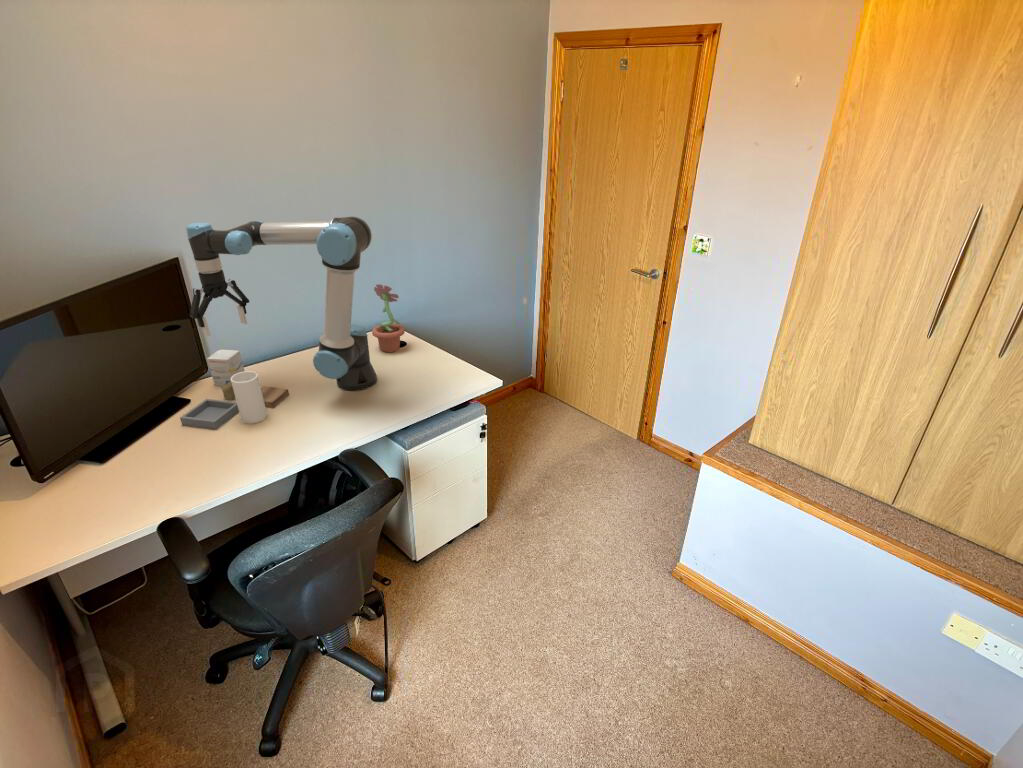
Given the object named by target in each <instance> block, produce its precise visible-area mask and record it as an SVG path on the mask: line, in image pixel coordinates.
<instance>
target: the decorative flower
mask: <svg viewBox="0 0 1023 768" xmlns="http://www.w3.org/2000/svg"><path fill="white" fill-rule="evenodd" d="M392 289H393V288H392V287H391V286H388V285H383V284H382V283H379V284H376V285H375V286H374V288H373V290H374V292H375V294H376V296H378V297H379V299H381V300H382V301H384V307H383V308H382V313H385V312H386V314H387V316H388V318H389V320H388V321H385V322H381V323H377V322H376V324H378V325H376V326H374V327H373V328H372V331H371V334H372V336H373V337H375V338H376V339H377V340H378V342H377V343H378V347H379V349H380V351H382V352H385V353H393V352H396V351H398V350H399V349H400V346H401V337H403V336H404V334H405V328H404V326H402V325H401V323H400V322H399V321H398V320H397V319H395V318H394V316H393V313H392V311H391V308H390V303H393V302H395V303H396V302H398V299H399V298H400V297H399V295H398V294H397V293H391V291H392Z"/></svg>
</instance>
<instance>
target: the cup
mask: <svg viewBox="0 0 1023 768" xmlns="http://www.w3.org/2000/svg"><path fill="white" fill-rule="evenodd" d="M231 383H232V387H233V390H234V394H235V398H234V399H235V402H237V406H238V409H239V412H238V414H239V416H240V421H241V422H242V423H243V424H246V425H249V424H252V425H253V424H258V423H261V422H262V421H264V420H265V419H266V418H267V417H268V414H267V408H266V407H265V404H264V399H263V395H262V391H261V388H262V387H261V383H260V379H259V374H258V373H257V372H256V371H253V370H246V371H244V372H239V373H237V374H235V375H233V376H232V377H231Z"/></svg>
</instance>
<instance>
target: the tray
mask: <svg viewBox="0 0 1023 768" xmlns="http://www.w3.org/2000/svg"><path fill="white" fill-rule="evenodd" d="M237 414H239V409H238V406H237V402H236V401H230V400H220V399H211V398H205V399H204V400H202V401H201V402H199V404H197V405H196V406H194V407H193V408H192V409H190V410H189V411H187V412H186V413H183V415H181V416H180V417H179V420H180V422H181V426H185V427H193V428H194V427H195V428H201V429H202V428H203V429H208V430H209V429H210V430H214V431H215V430H218V429H219V428H221V427H222V426H224V425H225V424H226V423H227V422H229V420H231V419H232V418H233V417H234V416H236V415H237Z"/></svg>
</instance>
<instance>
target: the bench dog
mask: <svg viewBox="0 0 1023 768" xmlns="http://www.w3.org/2000/svg"><path fill="white" fill-rule="evenodd" d="M221 390H222V394H223V398H224V400H225V401H233V400H235V399H236V398H235V394H234V390H233V387H232V383H231V381H230V382H228V383H227V384H225V385H224V386H221Z"/></svg>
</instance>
